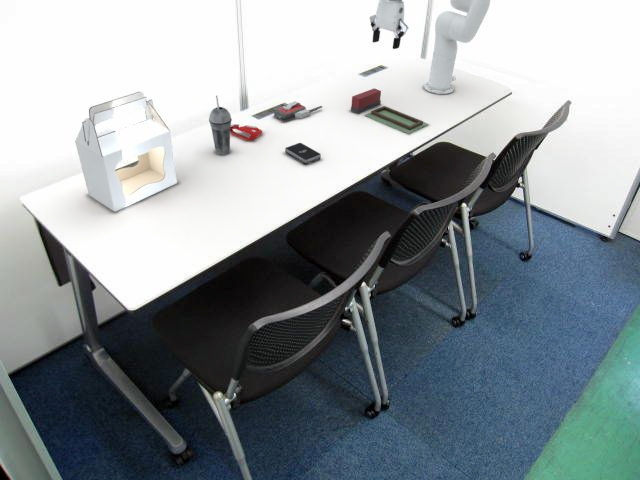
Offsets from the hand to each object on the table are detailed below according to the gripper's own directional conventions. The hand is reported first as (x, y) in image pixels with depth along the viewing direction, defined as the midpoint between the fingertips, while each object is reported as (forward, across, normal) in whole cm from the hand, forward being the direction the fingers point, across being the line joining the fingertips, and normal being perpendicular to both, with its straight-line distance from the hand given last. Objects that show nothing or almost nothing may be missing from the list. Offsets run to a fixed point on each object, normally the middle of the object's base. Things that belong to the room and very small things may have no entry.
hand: (385, 45), depth 203 cm
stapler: (+24, +2, +4) cm, 25 cm away
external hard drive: (+26, -10, +51) cm, 59 cm away
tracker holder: (+26, +15, +55) cm, 63 cm away
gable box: (+28, +8, +103) cm, 107 cm away
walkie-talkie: (+26, +16, +29) cm, 42 cm away
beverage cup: (+27, +10, +69) cm, 75 cm away
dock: (+24, -13, +4) cm, 28 cm away
